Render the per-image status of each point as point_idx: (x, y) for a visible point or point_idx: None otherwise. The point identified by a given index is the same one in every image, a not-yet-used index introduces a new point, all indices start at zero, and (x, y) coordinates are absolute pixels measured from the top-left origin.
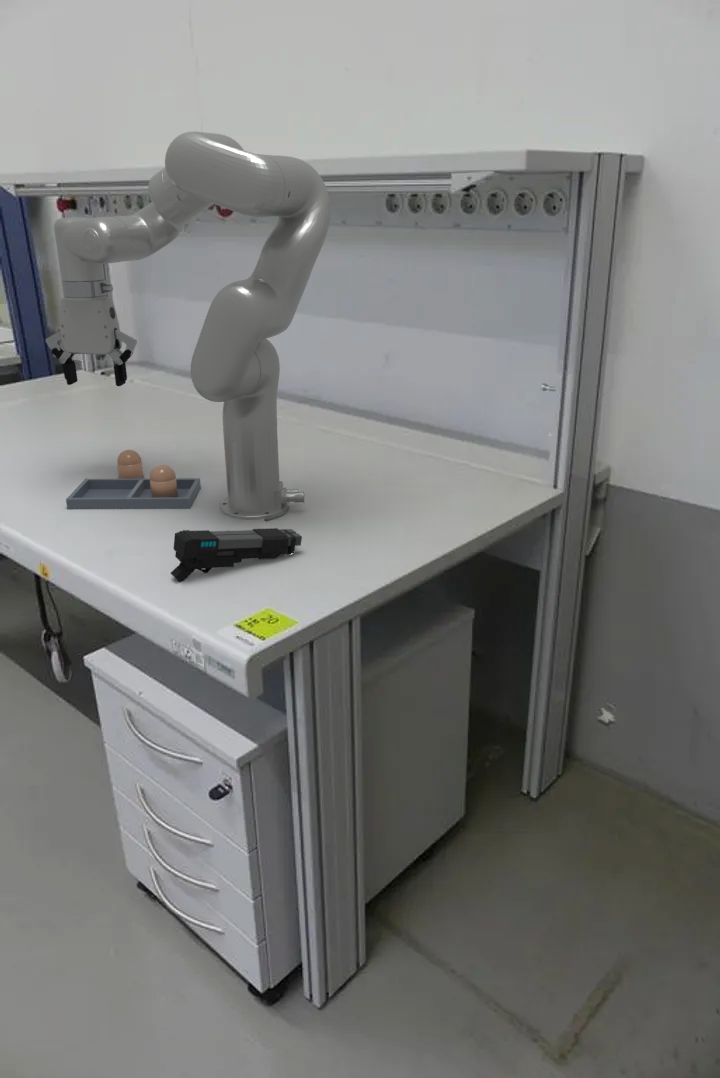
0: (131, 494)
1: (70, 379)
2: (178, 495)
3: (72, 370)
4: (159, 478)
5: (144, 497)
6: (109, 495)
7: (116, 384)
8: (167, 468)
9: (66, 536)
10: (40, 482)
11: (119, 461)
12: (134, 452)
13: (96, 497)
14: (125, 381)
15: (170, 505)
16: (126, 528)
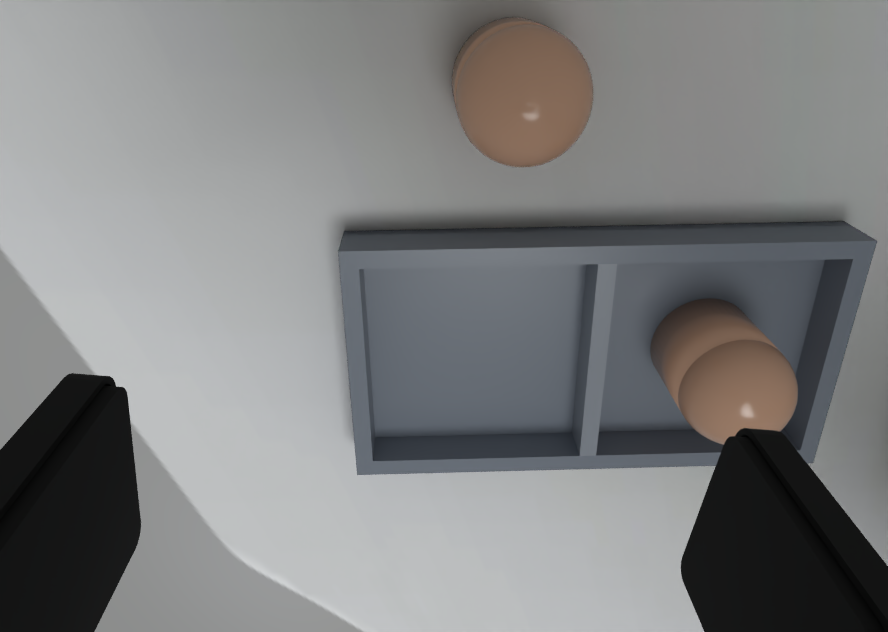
0: (593, 427)
1: (117, 571)
2: (753, 319)
3: (60, 588)
4: None
5: (619, 342)
6: (472, 322)
7: (690, 582)
8: (781, 426)
9: (431, 595)
10: (63, 113)
11: (483, 153)
12: (570, 114)
13: (426, 343)
14: (779, 437)
15: None
16: (593, 548)
